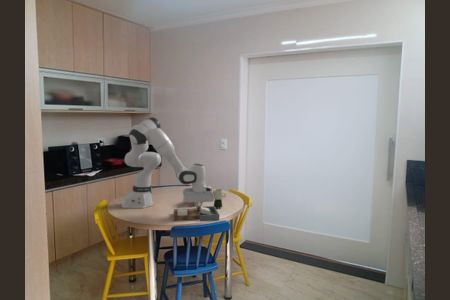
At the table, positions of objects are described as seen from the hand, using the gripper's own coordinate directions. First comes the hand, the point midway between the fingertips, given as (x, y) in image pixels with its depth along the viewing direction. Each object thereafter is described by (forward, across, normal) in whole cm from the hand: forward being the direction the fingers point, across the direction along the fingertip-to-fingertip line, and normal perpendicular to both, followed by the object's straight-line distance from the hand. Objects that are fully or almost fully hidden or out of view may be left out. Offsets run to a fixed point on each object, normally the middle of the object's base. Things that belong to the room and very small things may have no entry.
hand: (198, 208), depth 207 cm
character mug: (+4, +16, +14) cm, 21 cm away
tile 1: (+3, +4, 0) cm, 5 cm away
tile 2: (+1, -11, -7) cm, 13 cm away
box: (+4, +6, -3) cm, 8 cm away
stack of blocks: (+4, +3, +30) cm, 30 cm away
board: (+4, -8, -3) cm, 10 cm away
